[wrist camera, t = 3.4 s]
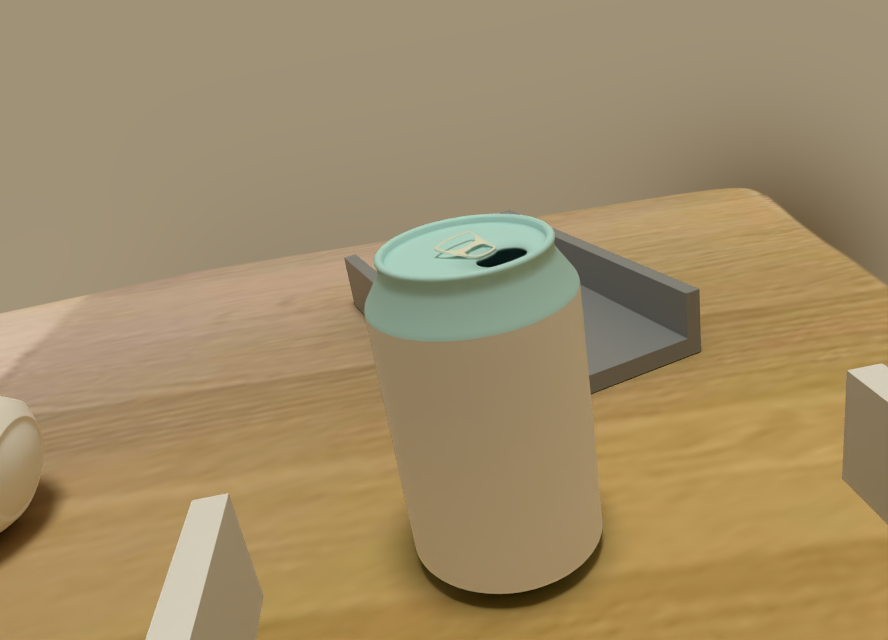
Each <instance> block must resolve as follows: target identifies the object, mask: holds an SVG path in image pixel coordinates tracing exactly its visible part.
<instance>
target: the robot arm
mask: <svg viewBox="0 0 888 640" xmlns="http://www.w3.org/2000/svg"><path fill="white" fill-rule="evenodd" d="M842 479H843V480H844V481H845V482H846V483H847V484H848V485H849V486H850V487H851V488H852V489H853V490H854V491H855V492H856V493H857V494H858V495H859V496H860V497H861V498H862V499H863V500H864V501H865V502H866V503H867V504H868V505H869V506H870V507H871V508H872V509H873V510H874V511H875V512H876V513H877V514H878V515H879V516H880V517H881V518H882V519H883V520H884V521H885V522H886V523H887V524H888V367H887V366H885V365H884V364H877V365H872V366H867V367H862V368H857V369H852V370H847V381H846V404H845V426H844V449H843V472H842ZM262 600H263V593H262V590H261V587H260V585H259V582H258V579H257V576H256V573H255V570H254V567H253V564H252V561H251V558H250V555H249V552H248V549H247V546H246V543H245V540H244V537H243V534H242V531H241V528H240V525H239V522H238V519H237V516H236V513H235V510H234V507H233V504H232V501H231V498H230V495H229V493H227V494H222V495H217V496H212V497H207V498H202V499H197V500H192V502H191V505H190V508H189V511H188V514H187V517H186V520H185V523H184V526H183V529H182V532H181V535H180V538H179V541H178V544H177V547H176V550H175V553H174V556H173V559H172V562H171V565H170V568H169V571H168V574H167V577H166V580H165V583H164V586H163V589H162V591H161V594H160V597H159V600H158V603H157V606H156V609H155V612H154V615H153V618H152V621H151V624H150V627H149V630H148V633H147V636H146V639H145V640H256V637H257V631H258V625H259V619H260V613H261V606H262Z"/></svg>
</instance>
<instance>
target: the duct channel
mask: <svg viewBox="0 0 888 640" xmlns="http://www.w3.org/2000/svg"><path fill="white" fill-rule="evenodd" d="M500 214H516V215H520V214H518V213H515V212H513V211H510V210H509V211H506V212H502V213H500ZM553 230H554V232H555V240H554V243H555V246H556V247H557V248H558V249H559V251H560V252H561V253H562V254H563V255H564V256H565V257H566V259H567V260H568V261H569V262H570V263H571V264H572V265H573V266H574V268H575V269H576V271H577V273H578V275H579V278H580V286H581V296H582V307H583V318H584V328H585V339H586V350H587V360H588V371H589V382H590V392H591V393H594V392H596V391H599V390H602V389H604V388H607V387H609V386H612V385H615V384H617V383H620V382H622V381H625V380H628V379H630V378H633V377H635V376H638V375H641V374H643V373H646V372H648V371H651V370H654V369H656V368H659V367H661V366H664V365H667V364H669V363H672V362H674V361H677V360H680V359H682V358H685V357H687V356H690V355H693V354H695V353H698V352H700V351H701V336H700V298H699V289H698V288H696V287H693V286H691V285H688V284H686V283H684V282H681V281H679V280H676V279H674V278H672V277H669V276H667V275H664V274H662V273H660V272H657V271H655V270H652V269H650V268H648V267H645V266H643V265H640V264H638V263H636V262H633V261H631V260H628V259H626V258H624V257H621V256H619V255H616V254H614V253H611V252H609V251H607V250H604V249H602V248H599V247H597V246H595V245H592V244H590V243H587V242H585V241H583V240H580V239H578V238H575V237H573V236H571V235H568V234H566V233H563V232H561V231H559V230H556V229H554V228H553ZM344 259H345V264H346V268H347V272H348V277H349V281H350V286H351V290H352V295H353V299H354V304H355V306H356V307H357V308H358V309H359V310H360V311H361V312H362V313H363V314H364V308H365V302H366V299H367V296H368V294H369V292H370V289H371V287H372V285H373V283H374V280H375V278H376V276H377V272H376V271H375V270H374V269H373V268H371V267H370V266H369V265H368V264H366V263H365V262H364V261H363V260H361V259H360V258H359V257H358V256H357V255H352V256H349V257H345V258H344ZM364 315H365V314H364Z"/></svg>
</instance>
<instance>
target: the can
mask: <svg viewBox="0 0 888 640" xmlns="http://www.w3.org/2000/svg"><path fill="white" fill-rule="evenodd" d="M554 240H555V232H554V230H553V228H552V227H551V226H550V225H548V224H547V223H545V222H544V221H542V220H540V219H537V218H534V217H529V216H524V215H516V214H481V215H471V216H463V217H457V218H451V219H446V220H442V221H437V222H434V223H430V224H427V225H423V226H420V227H417V228H414V229H412V230H409V231H407V232H405V233H402V234H400V235H398V236H396V237H394V238H392V239H391V240H389V241H388V242H386V243H385V244H384V245H383V246H382V247H381V248H380V249H379V250H378V251H377V253H376V254H375V257H374V265H375V267H376V269H377V276H376V278H375V280H374V283H373V285H372V287H371V289H370V292H369V294H368V296H367V299H366V302H365V308H364V314H365V319H366V324H367V328H368V333H369V337H370V342H371V347H372V351H373V356H374V360H375V365H376V369H377V374H378V379H379V383H380V388H381V392H382V397H383V401H384V406H385V410H386V415H387V420H388V424H389V429H390V433H391V438H392V442H393V447H394V451H395V456H396V461H397V465H398V470H399V474H400V479H401V483H402V488H403V493H404V497H405V502H406V506H407V511H408V515H409V520H410V524H411V529H412V534H413V538H414V543H415V547H416V551H417V554H418V556H419V558H420V560H421V561H422V563H423V564H424V566H425V567H426V568H427V569H428V570H429V571H430V572H431V573H432V574H434V575H435V576H436V577H438V578H439V579H441V580H442V581H444V582H446V583H448V584H450V585H453V586H455V587H458V588H461V589H464V590H468V591H473V592H479V593H488V594H510V593H519V592H524V591H529V590H533V589H537V588H540V587H543V586H546V585H548V584H551V583H553V582H556V581H558V580H560V579H561V578H563V577H565V576H567V575H568V574H570V573H572V572H573V571H574V570H576V569H577V568H578V567H580V566H581V565H582V564H583V563H584V562H585V561H586V560H587V559H588V558H589V557H590V555H591V554H592V553H593V551H594V550H595V548H596V546H597V544H598V543H599V540H600V537H601V533H602V526H603V521H602V510H601V499H600V489H599V478H598V467H597V457H596V446H595V435H594V425H593V414H592V403H591V392H590V382H589V371H588V360H587V350H586V339H585V328H584V318H583V307H582V296H581V286H580V278H579V275H578V273H577V271H576V269H575V268H574V266H573V265H572V264H571V263H570V262H569V261H568V260H567V259H566V257H565V256H564V255H563V254H562V253H561V252H560V251H559V249H558V248H557V247H556V246H555V243H554Z"/></svg>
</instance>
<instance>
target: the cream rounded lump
mask: <svg viewBox="0 0 888 640" xmlns="http://www.w3.org/2000/svg"><path fill="white" fill-rule="evenodd" d="M43 457H44V444H43V437H42V433H41V430H40V427H39V425H38V423H37V421H36V419H35V418H34V416H33V414H32V413H31V411H30V409H29V408H28V407H27V405H26V404H25V402H23V401H21V400H17V399H13V398H7V397H1V396H0V533H1V532H2V531H3V530H5V529H6V528H7V527H8V526H10V525H11V524H12V523H13V522H14V521H15V520H17V519H18V518H19V517H20V516H21V515H22V513H23V512H24V511H25V510H26V508H27V507H28V506H29V504H30V502H31V500H32V498H33V496H34V494H35V492H36V489H37V486H38V483H39V480H40V476H41V472H42V466H43Z"/></svg>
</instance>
